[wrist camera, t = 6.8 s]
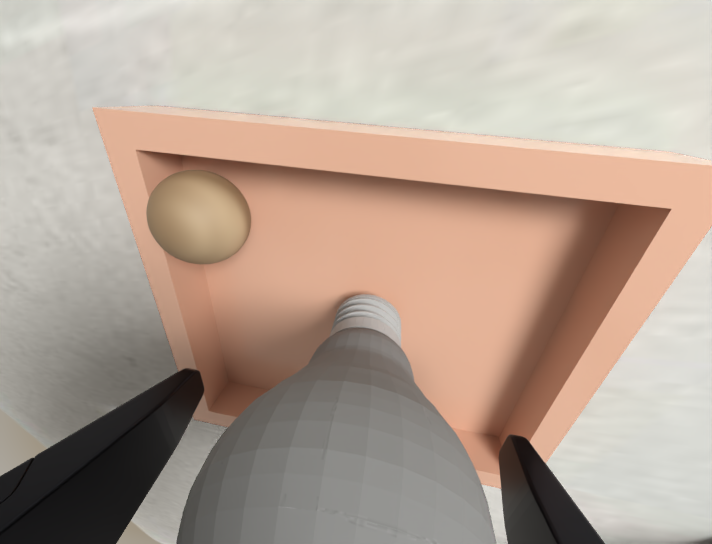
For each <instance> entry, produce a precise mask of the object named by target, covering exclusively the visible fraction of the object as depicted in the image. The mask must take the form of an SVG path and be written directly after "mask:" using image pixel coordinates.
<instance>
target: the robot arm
mask: <svg viewBox="0 0 712 544" xmlns="http://www.w3.org/2000/svg"><path fill="white" fill-rule="evenodd" d="M203 394H204V384H203V380H202V377H201V373H200V371H199V370H196V369H191V368H185V369H182V370H180V371H179V372H177V373H175V374H174V375H172V376H170V377H169V378H167V379H165V380H163V381H162V382H160V383H158V384H157V385H155V386H153V387H152V388H150V389H148V390H146V391H145V392H143V393H141V394H140V395H138V396H136V397H135V398H133V399H131V400H129V401H128V402H126V403H124V404H123V405H121V406H119V407H118V408H116V409H114V410H112V411H111V412H109V413H107V414H106V415H104V416H102V417H101V418H99V419H97V420H95V421H94V422H92V423H90V424H89V425H87V426H85V427H84V428H82V429H80V430H78V431H77V432H75V433H73V434H72V435H70V436H68V437H67V438H65V439H63V440H61V441H60V442H58V443H56V444H55V445H53V446H51V447H50V448H48V449H46V450H45V451H43V452H41V453H39V454H38V455H37V456H35V458H31V459H29V460H27V461H26V462H24V463H22V464H21V465H19V466H17V467H16V468H14V469H12V470H10V471H8V472H7V473H5V474H3V475H2V476H0V544H116V543H117V541H118V540H119V538H120V537H121V535H122V533H123V532H124V530H125V529H126V527H127V525H128V524H129V522H130V521H131V519H132V517H133V516H134V514H135V513H136V511H137V509H138V508H139V506H140V505H141V503H142V501H143V500H144V498H145V497H146V495H147V494H148V492H149V490H150V489H151V487H152V486H153V484H154V482H155V481H156V479H157V478H158V476H159V474H160V473H161V471H162V470H163V468H164V466H165V465H166V463H167V462H168V460H169V458H170V457H171V455H172V454H173V452H174V450H175V449H176V447H177V445H178V443H179V442H180V440H181V438H182V436H183V434H184V432H185V430H186V428H187V426H188V424H189V422H190V420H191V418H192V416H193V414H194V412H195V410H196V408H197V406H198V404H199V402H200V400H201V398H202V396H203ZM499 470H500V481H501V492H502V503H503V514H504V523H505V529H506V535H507V540H508V544H605V543H604V542H603V540H602V539H601V538H600V536H599V535H598V534H597V532H596V531H595V529H594V528H593V527H592V525H591V524H590V523H589V521H588V520H587V519H586V517H585V516H584V515H583V513H582V512H581V511H580V509H579V508H578V507H577V505H576V504H575V503H574V501H573V500H572V498H571V497H570V496H569V494H568V493H567V492H566V490H565V489H564V488H563V486H562V485H561V484H560V482H559V481H558V480H557V478H556V477H555V476H554V474H553V473H552V472H551V470H550V469H549V467H548V466H547V465H546V463H545V462H544V461H543V459H542V458H541V457H540V455H539V454H538V453H537V451H536V450H535V449H534V447H533V446H532V445H531V443H530V442H529V441H528V440H527V439H526V438H525V437H523V436H518V435H513V434H510V435H508V436H507V438H506V440H505V441H504V443H503V445H502V447H501V449H500V451H499Z"/></svg>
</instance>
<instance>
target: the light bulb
mask: <svg viewBox="0 0 712 544" xmlns="http://www.w3.org/2000/svg"><path fill="white" fill-rule="evenodd" d="M177 544H496V539H495V535H494V530H493V525H492V521H491V516H490V512H489V507H488V503H487V500H486V497H485V494H484V491H483V488H482V485H481V482H480V479H479V477H478V474H477V472H476V470H475V468H474V465H473V463H472V461H471V459H470V457H469V455H468V453H467V451H466V449H465V448H464V446H463V444H462V443H461V441H460V439H459V438H458V436H457V434H456V433H455V431H454V430H453V429H452V428H451V427H450V425H449V424H448V423H447V422H446V420H445V419H444V418H443V417H442V416H441V414H440V413H439V412H438V410H437V409H436V407H435V406H434V405H433V404H432V403H431V402H430V401H429V400H428V399H427V398H426V397H425V396H424V394H423V393H422V391H421V390H420V389H419V387H418V386H417V385H416V383H415V382H414V376H413V372H412V368H411V365H410V362H409V360H408V358H407V356H406V355H405V353H404V351H403V350H402V349H401V319H400V316H399V313H398V312H397V310H396V308H395V307H394V306H393V305H392V304H391V303H389V302H388V301H387V300H385V299H383V298H381V297H378V296H375V295H369V294H361V295H356V296H353V297H350V298H348V299H347V300H345V301H344V302H343V303H342V304H341V305H340V307H339V308H338V310H337V313H336V317H335V320H334V323H333V327H332V330H331V333H330V336H329V338H327V339H326V340H325V341H324V342H323V343H322V344H321V345H320V346H319V347H318V348H317V350H316V351H315V353H314V354H313V356H312V358H311V359H310V361H309V363H308V365H306V366H305V367H304V368H302V369H301V370H299V371H298V372H297V373H295V374H294V375H292V376H290V377H288V378H287V379H285V380H283V381H281V382H280V383H279V384H277V385H276V386H275V387H273V388H272V389H270V390H269V391H267V392H266V393H264V394H263V395H261V396H260V397H258V398H257V399H255V400H254V401H253V402H252V403H251V404H250V405H249V406H248V407H247V408H246V409H245V410H244V411H243V412H242V413H241V414H240V415H239V416H238V417H237V418H236V419H235V420H234V421H233V423H232V424H231V425H230V426H229V427H228V428H227V430H226V431H225V432H224V433H223V434H222V436H221V437H220V439H219V440H218V442H217V443H216V445H215V446H214V447H213V449H212V450H211V452H210V454H209V455H208V457H207V459H206V461H205V463H204V465H203V466H202V468H201V470H200V472H199V474H198V476H197V477H196V480H195V482H194V484H193V486H192V488H191V490H190V493H189V496H188V499H187V502H186V505H185V508H184V511H183V515H182V519H181V524H180V528H179V533H178V537H177Z"/></svg>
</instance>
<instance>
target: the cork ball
mask: <svg viewBox="0 0 712 544" xmlns="http://www.w3.org/2000/svg"><path fill="white" fill-rule="evenodd" d="M146 215H147V223H148V227H149V230H150V232H151V234H152V236H153V237H154V239H155V240H156V242H157V243H158V244H159V245H160V246H161V247H162V248H163V249H164V250H165V251H166V252H167V253H169V254H170V255H172V256H173V257H175V258H177V259H179V260H182V261H185V262H188V263H193V264H213V263H218V262H221V261H223V260H226V259H228V258H230V257H231V256H233V255H234V254H235V253H237V252H238V251H239V250H240V249H241V247H242V246H243V245H244V243H245V242H246V240H247V238H248V236H249V233H250V229H251V213H250V209H249V206H248V203H247V201H246V199H245V197H244V196H243V194H242V193H241V191H240V190H239V189H238V188H237V187H236V186H235V185H234V184H233V183H232V182H230V181H229V180H227V179H226V178H224V177H222V176H220V175H218V174H216V173H213V172H209V171H204V170H185V171H180V172H177V173H174V174H172V175H170V176H168V177H167V178H165V179H164V180H162V181H161V182H160V183H159V184H158V185H157V186H156V187H155V189H154V190H153V192H152V193H151V195H150V197H149V200H148V204H147V210H146Z"/></svg>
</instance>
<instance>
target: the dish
mask: <svg viewBox="0 0 712 544" xmlns="http://www.w3.org/2000/svg"><path fill="white" fill-rule="evenodd" d="M92 108H93V112H94V115H95V118H96V121H97V124H98V127H99V130H100V133H101V136H102V139H103V142H104V145H105V148H106V151H107V154H108V157H109V161H110V164H111V167H112V170H113V173H114V176H115V179H116V182H117V185H118V188H119V191H120V194H121V197H122V200H123V203H124V206H125V210H126V213H127V216H128V219H129V222H130V225H131V228H132V231H133V234H134V237H135V240H136V243H137V246H138V249H139V252H140V255H141V259H142V262H143V265H144V268H145V271H146V274H147V277H148V280H149V283H150V286H151V289H152V292H153V295H154V298H155V301H156V304H157V308H158V311H159V314H160V317H161V320H162V323H163V326H164V329H165V332H166V335H167V338H168V341H169V344H170V347H171V350H172V353H173V357H174V360H175V363H176V366H177V369H178V372H179V371H180V370H182V369H185V368H191V369H196V370H199V371H200V373H201V377H202V380H203V384H204V394H203V396H202V398H201V400H200V402H199V404H198V406H197V408H196V410H195V412H194V414H193V418H194V420H198V421H203V422H207V423H212V424H216V425H220V426H225V427H229V426H230V425H231V424H232V423H233V421H234V420H235V419H236V418H237V417H238V416H239V415H240V414H241V413H242V412H243V411H244V410H245V409H246V408H247V407H248V406H249V405H250V404H251V403H252V402H253V401H254V400H255V399H257V398H258V397H260V396H261V395H263V394H264V393H266V392H267V391H269V390H270V389H272V388H273V387H275V386H276V385H277V384H279V383H280V382H281V381H283V380H285V379H287V378H288V377H290V376H292V375H294V374H295V373H297V372H298V371H299V370H301V369H302V368H304V367H305V366H306V365H308V363H309V361H310V359H311V358H312V356H313V354H314V353H315V351H316V350H317V348H318V347H319V346H320V345H321V344H322V343H323V342H324V341H325V340H326V339H327V338H329V336H330V333H331V330H332V327H333V323H334V320H335V317H336V313H337V310H338V308H339V307H340V305H341V304H342V303H343V302H344V301H345V300H347V299H348V298H350V297H353V296H356V295H361V294H369V295H375V296H378V297H381V298H383V299H385V300H387V301H388V302H389V303H391V304H392V305H393V306H394V307H395V308H396V310H397V312H398V313H399V316H400V319H401V349H402V350H403V351H404V353H405V355H406V356H407V358H408V360H409V362H410V365H411V368H412V372H413V376H414V382H415V383H416V385H417V386H418V387H419V389H420V390H421V391H422V393H423V394H424V396H425V397H426V398H427V399H428V400H429V401H430V402H431V403H432V404H433V405H434V406H435V407H436V409H437V410H438V412H439V413H440V414H441V416H442V417H443V418H444V419H445V420H446V422H447V423H448V424H449V425H450V427H451V428H452V429H453V430H454V431H455V433H456V434H457V436H458V438H459V439H460V441H461V443H462V444H463V446H464V448H465V449H466V451H467V453H468V455H469V457H470V459H471V461H472V463H473V465H474V468H475V470H476V472H477V474H478V477H479V479H480V482H481V484H483V485H487V486H492V487H496V488H500V489H501V481H500V470H499V451H500V449H501V447H502V445H503V443H504V441H505V440H506V438H507V436H508V435H510V434H513V435H518V436H523V437H525V438H526V439H527V440H528V441H529V442H530V443H531V445H532V446H533V447H534V449H535V450H536V451H537V453H538V454H539V455H540V457H541V458H542V459H543V461H544V462H545V463H546V462H547V461H548V459H549V458H550V456H551V455H552V454H553V452H554V451H555V449H556V448H557V446H558V445H559V444H560V442H561V441H562V439H563V438H564V436H565V435H566V434H567V432H568V431H569V429H570V428H571V426H572V425H573V424H574V422H575V421H576V419H577V418H578V416H579V415H580V414H581V412H582V411H583V409H584V408H585V406H586V405H587V404H588V402H589V401H590V399H591V398H592V396H593V395H594V394H595V392H596V391H597V389H598V388H599V386H600V385H601V384H602V382H603V381H604V379H605V378H606V376H607V375H608V374H609V372H610V371H611V369H612V368H613V366H614V365H615V364H616V362H617V361H618V359H619V358H620V356H621V355H622V354H623V352H624V351H625V349H626V348H627V346H628V345H629V344H630V342H631V341H632V339H633V338H634V336H635V335H636V334H637V332H638V331H639V329H640V328H641V326H642V325H643V324H644V322H645V321H646V319H647V318H648V316H649V315H650V314H651V312H652V311H653V309H654V308H655V306H656V305H657V304H658V302H659V301H660V299H661V298H662V296H663V295H664V294H665V292H666V291H667V289H668V288H669V286H670V285H671V284H672V282H673V281H674V279H675V278H676V276H677V275H678V274H679V272H680V271H681V269H682V268H683V266H684V265H685V264H686V262H687V261H688V259H689V258H690V256H691V255H692V254H693V252H694V251H695V249H696V248H697V246H698V245H699V244H700V242H701V241H702V239H703V238H704V236H705V235H706V234H707V232H708V231H709V229H710V228H711V226H712V161H711V160H706V159H702V158H697V157H692V156H688V155H683V154H679V153H674V152H665V151H654V150H643V149H632V148H621V147H610V146H599V145H588V144H577V143H566V142H555V141H543V140H532V139H521V138H510V137H499V136H488V135H477V134H466V133H455V132H444V131H433V130H422V129H410V128H399V127H388V126H377V125H366V124H355V123H344V122H333V121H322V120H311V119H300V118H288V117H277V116H266V115H255V114H244V113H233V112H222V111H211V110H200V109H189V108H178V107H167V106H126V107H92ZM185 170H204V171H209V172H213V173H216V174H218V175H220V176H222V177H224V178H226V179H227V180H229V181H230V182H232V183H233V184H234V185H235V186H236V187H237V188H238V189H239V190H240V191H241V193H242V194H243V196H244V197H245V199H246V201H247V203H248V206H249V209H250V213H251V229H250V233H249V236H248V238H247V240H246V242H245V243H244V245H243V246H242V247H241V249H240V250H239V251H238V252H237V253H235V254H234V255H233V256H231V257H230V258H228V259H226V260H223V261H221V262H218V263H213V264H193V263H188V262H185V261H182V260H179V259H177V258H175V257H173V256H172V255H170V254H169V253H167V252H166V251H165V250H164V249H163V248H162V247H161V246H160V245H159V244H158V243H157V242H156V240H155V239H154V237H153V236H152V234H151V232H150V230H149V227H148V223H147V215H146V210H147V204H148V200H149V197H150V195H151V193H152V192H153V190H154V189H155V187H156V186H157V185H158V184H159V183H160V182H161V181H162V180H164V179H165V178H167V177H168V176H170V175H172V174H174V173H177V172H180V171H185Z"/></svg>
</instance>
